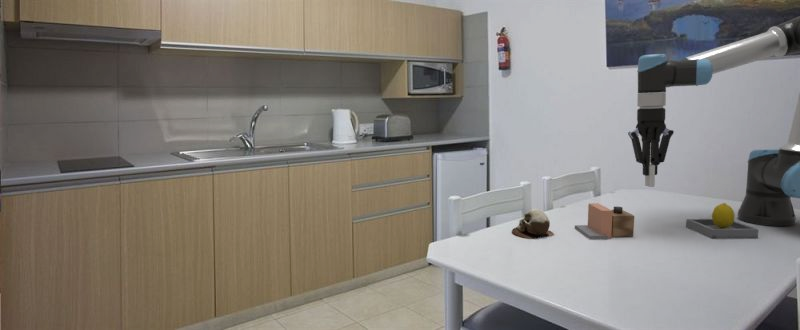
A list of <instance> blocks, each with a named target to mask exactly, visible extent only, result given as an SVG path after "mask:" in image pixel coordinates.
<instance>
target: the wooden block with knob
mask: <svg viewBox="0 0 800 330" xmlns="http://www.w3.org/2000/svg"><path fill="white" fill-rule="evenodd" d="M611 210H612V211H613V212H612V233H611V237H634V234H635V233H634V232H635V230H634V229H635V228H634V227H635V215H633V214H631V213H629V212H627V211H626V210H624V209H623V206H613V209H611Z"/></svg>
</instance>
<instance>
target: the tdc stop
mask: <svg viewBox="0 0 800 330" xmlns="http://www.w3.org/2000/svg"><path fill="white" fill-rule="evenodd" d="M587 207H588V209H587V210H588V211H587V224H584V225H583V224H582V225H579V224H578V225H577V224H575V225H574V229H575V230H577V232H579V233H580V234H581V235H583V236H584V237H586V238H588V240H608V239H612V236H611V233H612V212H613V211H612V210H613V209H610V208H609V207H606V206H604V205H603V204H600V203H598V202H597V203H595V202H594V203H588V206H587Z"/></svg>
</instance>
